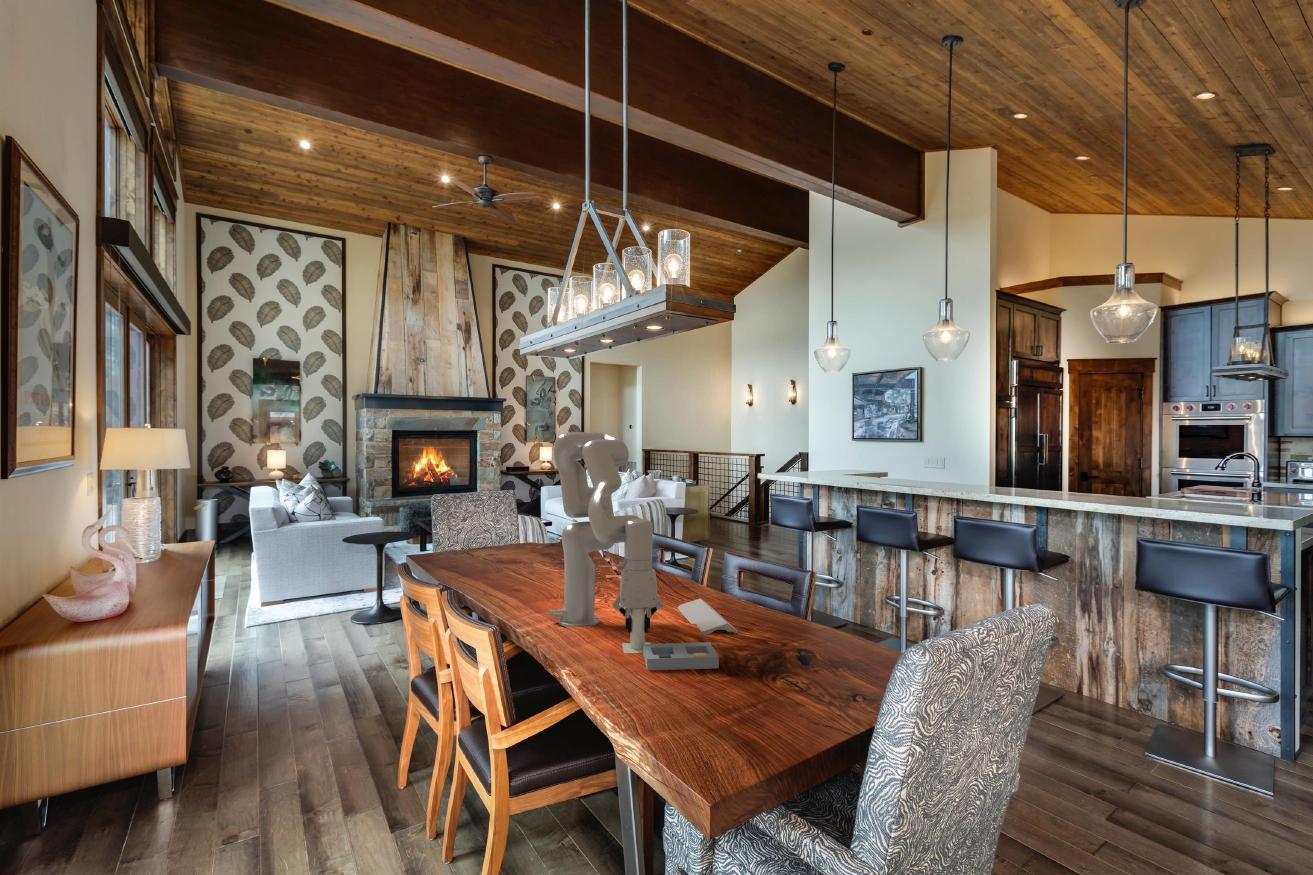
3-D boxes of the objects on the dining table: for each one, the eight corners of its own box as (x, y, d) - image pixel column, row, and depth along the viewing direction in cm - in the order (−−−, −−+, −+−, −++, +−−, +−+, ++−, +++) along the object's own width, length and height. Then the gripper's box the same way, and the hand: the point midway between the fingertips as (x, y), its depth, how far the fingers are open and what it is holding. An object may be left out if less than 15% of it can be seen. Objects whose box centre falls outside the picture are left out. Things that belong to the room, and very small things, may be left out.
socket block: (647, 674, 154) (647, 657, 154) (642, 659, 165) (643, 642, 165) (718, 672, 156) (718, 655, 156) (709, 657, 167) (709, 641, 167)
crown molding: (677, 609, 215) (677, 599, 215) (711, 608, 217) (711, 597, 217) (701, 636, 186) (701, 624, 186) (740, 634, 189) (740, 622, 189)
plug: (630, 650, 168) (630, 602, 168) (629, 645, 173) (629, 598, 172) (645, 650, 169) (646, 602, 169) (644, 644, 173) (645, 598, 173)
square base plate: (623, 657, 166) (623, 653, 166) (621, 647, 174) (621, 643, 174) (653, 656, 167) (653, 652, 167) (650, 646, 175) (650, 642, 175)
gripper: (608, 567, 166) (607, 636, 166) (670, 567, 168) (669, 635, 168) (607, 562, 173) (606, 628, 173) (666, 561, 175) (666, 626, 175)
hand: (637, 630), depth 171 cm, fingers closed on plug, 4 cm apart
